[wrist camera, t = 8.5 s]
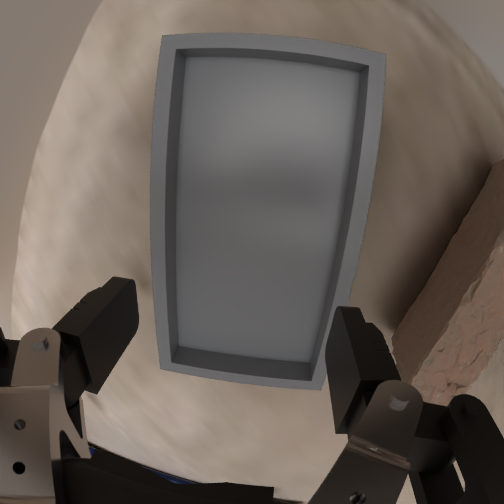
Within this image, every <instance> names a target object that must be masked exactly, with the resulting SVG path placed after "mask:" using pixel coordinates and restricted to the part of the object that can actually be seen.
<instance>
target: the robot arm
mask: <svg viewBox="0 0 504 504" xmlns="http://www.w3.org/2000/svg"><path fill="white" fill-rule="evenodd" d="M138 325H139V312H138V303H137V293H136V284H135V281H134V280H133V279H127V278H121V277H115V276H114V277H112V278H111V279H110V280H109V281H108V282H107V283H106V284H105V285H104V286H103V287H102V288H100V287H99V288H97V289H95V290H93V291H91V292H89V293H87V294H86V295H85V296H84V297H83V298H82V299H81V300H80V303H79V302H78V303H77V304H76V305H75V306H74V307H73V309H71V310H70V311H69V312H68V313H67V314H66V315H65V316H64V317H63V318H62V319H61V320H60V321H59V322H58V323H57V324H56V325H55V326H54V327H53V328H52V329H50V328H37V329H34V330H31V331H29V332H28V333H26V334H25V335H24V336H23V337H22V338H21V340H9V339H5V337H4V334H3V332H2V329H1V328H0V504H291V503H288V502H285V501H283V500H280V499H276V498H273V494H274V487H266V486H254V485H244V484H236V483H228V482H224V483H201V484H179V483H174V482H172V481H170V480H168V479H165V478H163V477H161V476H159V475H158V474H156V473H154V472H152V471H150V470H148V469H146V468H144V467H142V466H141V465H139V464H137V463H135V462H133V461H130V460H126V459H123V458H120V457H117V456H114V455H111V454H109V453H106V452H103V451H100V450H98V449H95V450H94V452H93V454H92V456H91V454H90V451H89V447H88V442H87V435H86V427H85V418H84V408H83V400H82V398H81V395H82V393H83V392H84V390H85V391H88V392H91V393H94V394H98V392H99V390H100V389H101V387H102V385H103V384H104V382H105V381H106V379H107V377H108V376H109V374H110V373H111V371H112V369H113V368H114V366H115V365H116V363H117V362H118V360H119V358H120V357H121V355H122V354H123V352H124V351H125V349H126V347H127V346H128V344H129V343H130V341H131V340H132V338H133V337H134V335H135V334H136V332H137V329H138ZM325 362H326V369H327V375H328V382H329V389H330V396H331V403H332V410H333V417H334V425H335V433H336V434H347V435H348V443H347V444H346V446H345V448H344V449H343V451H342V453H341V454H340V456H339V458H338V459H337V461H336V462H335V464H334V465H333V467H332V469H331V470H330V472H329V473H328V475H327V476H326V478H325V479H324V481H323V482H322V484H321V485H320V487H319V488H318V490H317V491H316V492H315V494H314V495H313V497H312V498H311V499H310V501H309V502H308V503H307V504H396V502H397V500H398V497H399V495H400V493H401V490H402V488H403V485H404V483H405V480H406V478H407V475H408V474H409V478H410V481H411V484H412V488H413V491H414V495H415V499H416V502H417V504H504V438H503V436H502V434H501V432H500V431H499V429H498V427H497V425H496V423H495V422H494V420H493V418H492V416H491V415H490V413H489V411H488V409H487V408H486V406H485V405H484V404H483V403H482V402H481V401H480V400H479V399H477V398H476V397H474V396H471V395H467V394H460V395H457V396H455V397H454V398H453V399H452V400H451V401H450V403H449V404H448V406H443V405H438V404H433V403H428V402H424V401H423V398H422V396H421V394H420V392H419V391H418V390H417V389H416V388H415V387H414V386H412V385H410V384H409V383H406V382H404V381H402V380H401V377H400V375H399V372H398V370H397V367H396V365H395V362H394V360H393V358H392V355H391V353H389V348H388V346H387V344H386V341H385V339H384V337H383V334H382V332H381V331H380V330H379V329H378V328H377V327H376V326H375V325H374V324H373V323H366V322H365V320H364V317H363V315H362V312H361V310H360V308H358V307H347V306H337V308H336V310H335V313H334V317H333V321H332V324H331V328H330V332H329V335H328V339H327V343H326V348H325ZM455 460H456V461H457V463H458V466H459V468H460V471H461V473H462V476H463V478H464V481H465V492H464V491H463V488H462V486H461V483H460V480H459V478H458V475H457V472H456V470H455V467H454V465H453V462H454V461H455Z"/></svg>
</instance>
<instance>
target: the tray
mask: <svg viewBox="0 0 504 504" xmlns="http://www.w3.org/2000/svg"><path fill="white" fill-rule="evenodd" d="M385 70H386V54H383V53H379V52H375V51H371V50H367V49H362V48H358V47H353V46H348V45H343V44H338V43H332V42H327V41H320V40H314V39H307V38H299V37H290V36H280V35H268V34H251V33H192V34H175V35H163V36H162V40H161V47H160V54H159V62H158V70H157V80H156V89H155V100H154V113H153V127H152V145H151V171H150V240H151V267H152V285H153V300H154V313H155V324H156V335H157V344H158V353H159V361H160V369H163V370H167V371H172V372H177V373H182V374H188V375H193V376H199V377H204V378H210V379H217V380H223V381H230V382H237V383H244V384H252V385H261V386H270V387H281V388H292V389H306V390H321V389H322V386H323V383H324V380H325V377H326V374H327V369H326V362H325V348H326V343H327V339H328V335H329V332H330V328H331V324H332V321H333V317H334V313H335V310H336V308H337V306H347V304H348V300H349V296H350V292H351V288H352V284H353V280H354V276H355V272H356V268H357V263H358V259H359V254H360V250H361V245H362V241H363V236H364V231H365V226H366V221H367V216H368V210H369V205H370V199H371V193H372V187H373V181H374V175H375V168H376V161H377V154H378V146H379V138H380V129H381V120H382V110H383V99H384V86H385Z"/></svg>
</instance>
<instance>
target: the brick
mask: <svg viewBox="0 0 504 504" xmlns="http://www.w3.org/2000/svg"><path fill="white" fill-rule="evenodd" d="M502 339H504V159H503V160H501V161H499V162H497V163H495V164H494V165H493V166H492V168H491V171H490V173H489V175H488V178H487V180H486V182H485V185H484V187H483V188H482V190H481V191H480V193H479V195H478V197H477V199H476V200H475V201H474V203H473V204H472V206H471V208H470V209H469V212H468V213H467V215H466V216H465V217H464V218H463V220H462V223H461V225H460V226H459V228H458V231H457V233H456V234H454V235H453V237H452V239H451V240H450V242H449V244H448V247H447V249H446V250H445V252H444V253H443V255H442V257H441V259H440V260H439V262H438V264H437V266H436V268H435V270H434V271H433V273H432V274H431V276H430V277H429V279H428V281H427V283H426V285H425V287H424V289H423V290H422V291H421V292H420V293H419V294H418V296H417V299H416V301H415V302H414V303H413V304H412V305H411V307H410V308H409V310H408V311H407V313H406V315H405V316H404V318H403V319H402V321H401V323H400V324H399V326H398V327H397V329H396V331H395V332H394V334H393V336H392V345H393V347H394V349H393V353H392V354H393V355H394V357H395V359H396V363H397V364H396V367H397V370H398V372H399V375H400V377H401V380H402V381H404V382H406V383H409V384H410V385H412V386H414V387H415V388H416V389H417V390H418V391H419V392H420V394H421V396H422V398H423V401H424V402H428V403H433V404H438V405H443V406H448V404H449V403H450V401H451V400H452V399H453V398H454V397H455V396H457V395H460V394H465V393H466V392H467V391H468V389H469V388H470V387H471V385H472V384H473V383H474V382H475V381H476V380H477V379H478V377H479V375H480V373H481V372H482V371H483V370H484V369H485V367H486V366H487V365H488V361H489V359H490V358H491V357H492V355H493V353H494V351H495V350H496V348H497V346H498V344H499V342H500V341H501V340H502Z"/></svg>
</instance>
